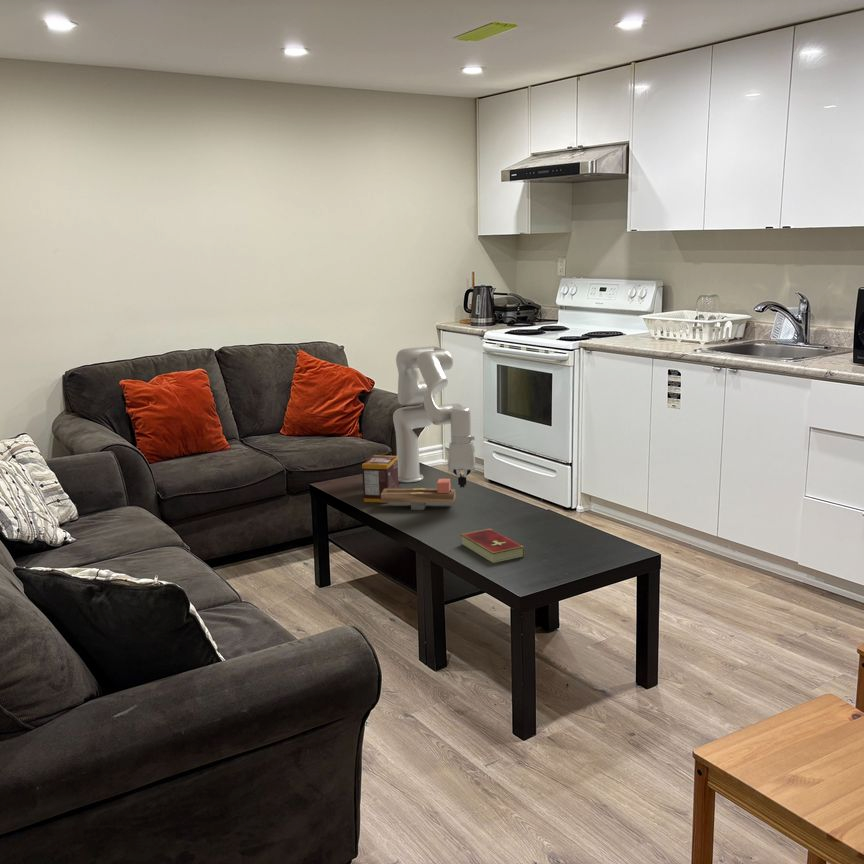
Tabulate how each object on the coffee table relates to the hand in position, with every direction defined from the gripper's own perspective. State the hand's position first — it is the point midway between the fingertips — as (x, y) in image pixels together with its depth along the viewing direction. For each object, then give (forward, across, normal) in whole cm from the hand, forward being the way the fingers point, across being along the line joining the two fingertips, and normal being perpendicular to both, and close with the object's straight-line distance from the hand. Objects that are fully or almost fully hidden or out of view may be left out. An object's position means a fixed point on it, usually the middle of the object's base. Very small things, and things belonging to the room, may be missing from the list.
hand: (462, 486), depth 327 cm
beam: (+8, +17, 0) cm, 19 cm away
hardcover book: (+10, -14, +46) cm, 49 cm away
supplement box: (+8, +34, -13) cm, 38 cm away
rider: (+4, +7, 0) cm, 8 cm away
